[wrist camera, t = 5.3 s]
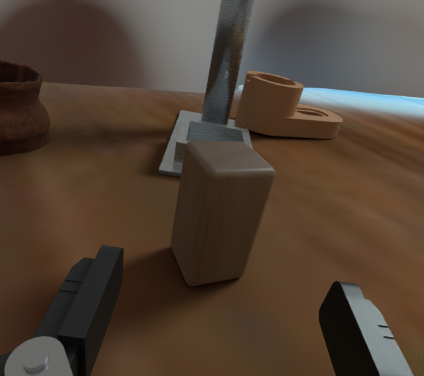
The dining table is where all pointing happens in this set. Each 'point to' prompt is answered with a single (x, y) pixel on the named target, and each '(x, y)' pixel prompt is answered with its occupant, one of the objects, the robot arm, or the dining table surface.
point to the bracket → (282, 109)
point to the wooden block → (219, 209)
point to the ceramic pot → (21, 110)
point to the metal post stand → (215, 90)
